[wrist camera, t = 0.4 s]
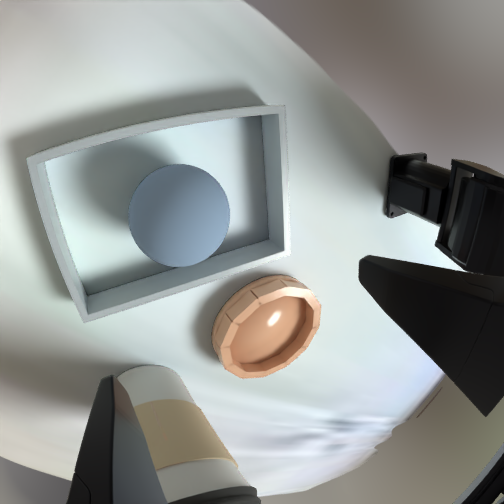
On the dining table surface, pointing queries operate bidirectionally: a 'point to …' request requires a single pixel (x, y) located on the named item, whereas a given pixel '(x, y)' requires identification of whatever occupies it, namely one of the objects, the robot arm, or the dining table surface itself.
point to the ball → (179, 215)
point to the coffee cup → (183, 441)
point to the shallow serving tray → (180, 276)
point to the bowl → (265, 326)
